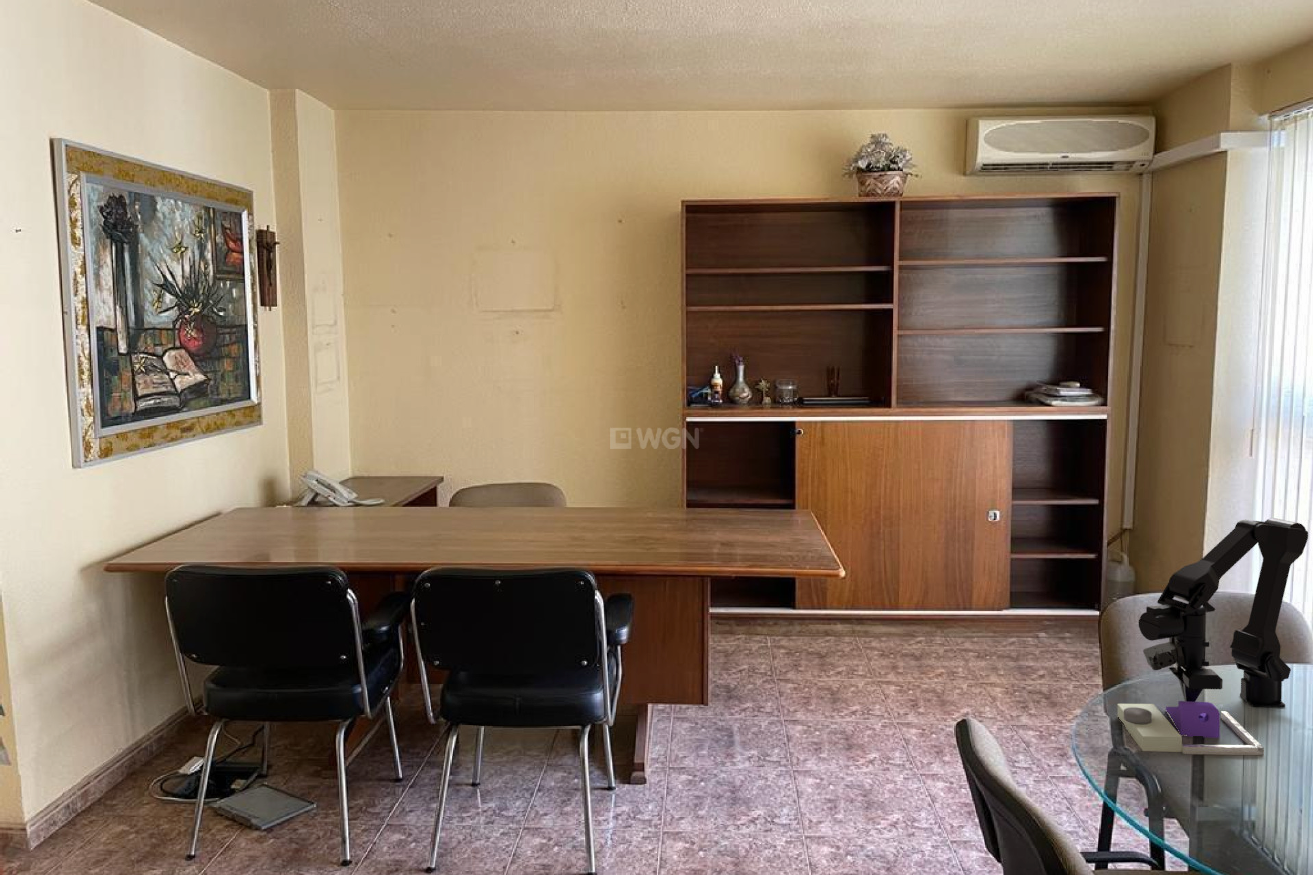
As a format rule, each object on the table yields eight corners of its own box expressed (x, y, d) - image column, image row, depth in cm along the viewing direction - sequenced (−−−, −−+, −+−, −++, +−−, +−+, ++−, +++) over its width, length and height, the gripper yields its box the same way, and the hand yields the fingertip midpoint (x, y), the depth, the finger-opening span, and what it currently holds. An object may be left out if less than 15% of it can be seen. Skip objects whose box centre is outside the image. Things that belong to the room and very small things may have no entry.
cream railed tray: (1226, 718, 197) (1226, 697, 197) (1263, 755, 181) (1263, 732, 180) (1112, 717, 201) (1112, 696, 201) (1138, 753, 184) (1138, 730, 184)
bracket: (1219, 739, 189) (1219, 706, 188) (1181, 737, 191) (1181, 704, 190) (1201, 715, 201) (1202, 683, 200) (1165, 713, 202) (1165, 682, 202)
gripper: (1134, 619, 208) (1133, 687, 210) (1162, 648, 190) (1162, 723, 192) (1189, 619, 206) (1188, 688, 208) (1224, 649, 188) (1222, 724, 190)
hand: (1189, 705), depth 200 cm, fingers closed
